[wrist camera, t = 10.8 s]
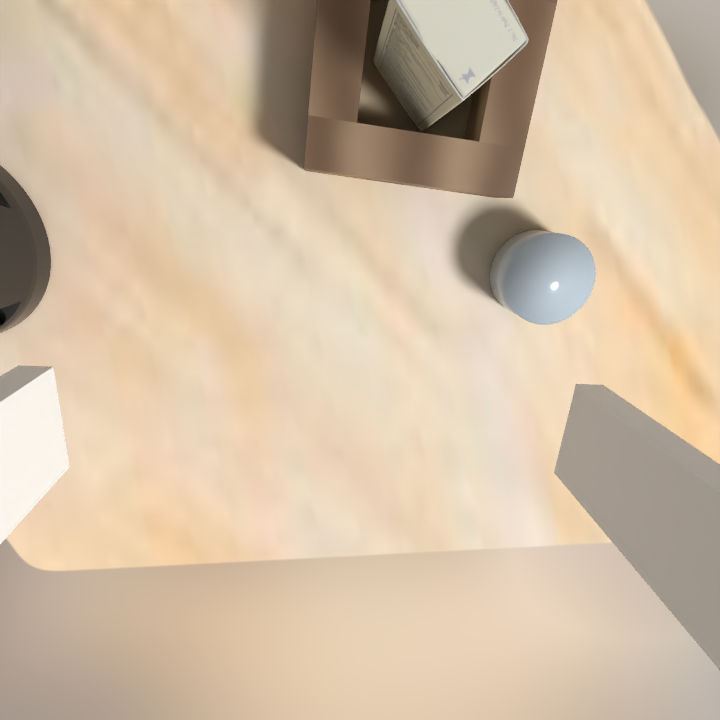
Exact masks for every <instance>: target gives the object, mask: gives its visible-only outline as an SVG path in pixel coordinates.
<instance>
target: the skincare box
mask: <svg viewBox="0 0 720 720" xmlns="http://www.w3.org/2000/svg"><path fill="white" fill-rule="evenodd" d="M528 40H529V39H528V37H527V34H526V33H525V31H524V29H523V27H522V25H521V23H520V21H519V19H518V17H517V15H516V14H515V12H514V10H513V8H512V6H511V5H510V3H509V1H508V0H389V2H388V6H387V10H386V13H385V17H384V20H383V24H382V28H381V32H380V36H379V39H378V43H377V47H376V51H375V54H374V58H373V62H374V64H375V65H376V67H377V68H378V70H379V72H380V73H381V75H382V76H383V78H384V79H385V81H386V82H387V84H388V85H389V87H390V88H391V90H392V91H393V93H394V94H395V96H396V97H397V98H398V100H399V101H400V103H401V104H402V106H403V107H404V109H405V110H406V112H407V113H408V114H409V116H410V117H411V119H412V120H413V121H414V123H415V124H416V126H417V127H418V128H419V130H420V131H424V130H425V129H426V128H428V127H429V126H430V125H432V124H433V123H434V122H436V121H437V120H438V119H440V118H441V117H442V116H444V115H445V114H446V113H448V112H449V111H450V110H452V109H453V108H454V107H456V106H457V105H458V104H460V103H461V102H462V101H464V100H465V99H466V98H467V97H468V96H470V95H471V94H472V93H473V92H474V91H476V90H477V89H478V88H479V87H480V86H482V85H483V84H484V83H485V82H486V81H487V80H489V79H490V78H491V77H492V76H493V75H494V74H495V73H496V72H498V71H499V70H500V69H501V68H502V67H503V66H504V65H505V64H506V63H508V62H509V61H510V60H511V59H512V58H513V57H514V56H515V55H516V54H517V53H518V52H519V51H520V50H521V49H522V48H524V47H525V46H526V44H527V43H528Z"/></svg>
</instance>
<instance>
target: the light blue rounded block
mask: <svg viewBox="0 0 720 720" xmlns="http://www.w3.org/2000/svg"><path fill="white" fill-rule="evenodd" d="M595 275H596V272H595V263H594V259H593V256H592V254H591V252H590V251H589V249H588V248H587V247H586V246H585V244H584V243H582V242H581V241H580V240H578V239H576V238H575V237H572V236H569V235H565V234H559V233H553V232H547V231H541V230H529V231H525V232H522V233H519V234H517V235H515V236H513V237H512V238H510V239H509V240H508V241H506V242H505V243H504V244H503V245H502V246H501V248H500V249H499V250H498V252H497V253H496V255H495V257H494V259H493V262H492V265H491V269H490V285H491V289H492V292H493V294H494V296H495V298H496V299H497V300H498V302H499V303H500V304H501V305H503V306H504V307H505V308H507V309H509V310H510V311H512V312H513V313H515V314H517V315H518V316H520V317H521V318H523V319H525V320H527V321H529V322H531V323H534V324H541V325H547V324H554V323H558V322H561V321H563V320H565V319H567V318H569V317H570V316H572V315H573V314H575V313H576V312H577V311H578V310H579V309H580V308H581V307H582V306H583V305H584V304H585V302H586V301H587V299H588V298H589V296H590V294H591V292H592V289H593V286H594V282H595Z"/></svg>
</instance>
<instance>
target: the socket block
mask: <svg viewBox="0 0 720 720" xmlns="http://www.w3.org/2000/svg"><path fill="white" fill-rule="evenodd" d="M508 1H509V3H510V5H511V6H512V8H513V10H514V12H515V14H516V15H517V17H518V19H519V21H520V23H521V25H522V27H523V29H524V31H525V33H526V34H527V37H528V39H529V40H528V43H527V44H526V46H525V47H524V48H522V49H521V50H520V51H519V52H518V53H517V54H516V55H515V56H514V57H513V58H512V59H511V60H510V61H509V62H508V63H506V64H505V65H504V66H503V67H502V68H501V69H500V70H499V71H498V72H496V73H495V74H494V75H493V76H492V77H491V78H490V79H489V80H487V81H486V82H485V83H484V84H483V85H482V86H480V87H479V88H478V89H477V90H476V91H474V92H473V95H472V101H471V106H470V111H469V117H468V122H467V128H466V133H465V139H459V138H452V137H446V136H439V135H433V134H426V133H420V132H413V131H407V130H401V129H394V128H388V127H381V126H375V125H368V124H362V123H357V117H358V108H359V100H360V91H361V82H362V73H363V64H364V56H365V47H366V38H367V29H368V20H369V12H370V3H371V0H317V13H316V25H315V37H314V49H313V61H312V73H311V85H310V98H309V110H308V122H307V134H306V146H305V158H304V169H305V170H306V171H310V172H318V173H325V174H332V175H339V176H346V177H353V178H360V179H367V180H374V181H381V182H388V183H395V184H402V185H409V186H416V187H423V188H431V189H438V190H445V191H452V192H459V193H466V194H473V195H480V196H487V197H495V198H513V196H514V192H515V187H516V183H517V178H518V174H519V170H520V165H521V161H522V156H523V152H524V147H525V143H526V138H527V134H528V129H529V125H530V120H531V116H532V112H533V107H534V103H535V98H536V94H537V89H538V85H539V80H540V76H541V71H542V67H543V62H544V58H545V54H546V49H547V45H548V40H549V36H550V31H551V27H552V22H553V18H554V13H555V9H556V4H557V0H508Z"/></svg>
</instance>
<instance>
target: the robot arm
mask: <svg viewBox="0 0 720 720" xmlns="http://www.w3.org/2000/svg"><path fill="white" fill-rule="evenodd" d="M50 268H51V256H50V247H49V241H48V237H47V234H46V230H45V227H44V225H43V222H42V220H41V217H40V215H39V213H38V211H37V209H36V207H35V206H34V204H33V202H32V201H31V199H30V198H29V196H28V195H27V193H26V192H25V191H24V190H23V188H22V187H21V186H20V185H19V183H18V182H17V181H16V180H15V179H14V178H13V177H12V176H11V175H10V174H9V173H8V172H7V171H6V170H5V169H4V168H3V167H2V166H0V333H1V332H3V331H6V330H8V329H10V328H12V327H14V326H16V325H17V324H19V323H20V322H22V321H23V320H24V319H26V318H27V317H28V316H29V315H30V314H31V313H32V312H33V311H34V309H35V308H36V307H37V306H38V304H39V302H40V301H41V299H42V297H43V295H44V293H45V291H46V288H47V285H48V281H49V276H50ZM69 467H70V466H69V460H68V454H67V448H66V442H65V436H64V430H63V424H62V418H61V411H60V405H59V399H58V393H57V387H56V381H55V375H54V369H53V367H44V366H17V367H15V368H14V369H12V370H10V371H9V372H7V373H5V374H3V375H2V376H0V544H1V543H2V541H3V540H5V538H6V537H7V536H8V535H9V534H10V533H11V532H12V531H13V530H14V528H15V527H16V526H17V525H18V524H19V523H20V522H21V521H22V519H23V518H24V517H25V516H26V515H27V514H28V513H29V512H30V511H31V509H32V508H33V507H34V506H35V505H36V504H37V503H38V502H39V500H40V499H41V498H42V497H43V496H44V495H45V494H46V493H47V492H48V490H49V489H50V488H51V487H52V486H53V485H54V484H55V483H56V481H57V480H58V479H59V478H60V477H61V476H62V475H63V474H64V473H65V471H66V470H67V469H68V468H69ZM554 473H555V474H556V475H557V477H558V478H559V479H560V480H561V481H562V482H563V484H564V485H565V486H566V487H567V488H568V490H569V491H570V492H571V493H572V494H573V496H574V497H575V498H576V499H577V500H578V502H579V503H580V504H581V505H582V506H583V508H584V509H585V510H586V511H587V512H588V513H589V515H590V516H591V517H592V518H593V519H594V521H595V522H596V523H597V524H598V525H599V527H600V528H601V529H602V530H603V531H604V533H605V534H606V535H607V536H608V537H609V539H610V540H611V541H612V542H613V543H614V544H615V546H616V547H617V548H618V549H619V550H620V552H621V553H622V554H623V555H624V556H625V558H626V559H627V560H628V561H629V562H630V563H631V565H632V566H633V567H634V568H635V570H636V571H637V572H638V573H639V574H640V575H641V577H642V578H643V579H644V580H645V581H646V582H647V584H648V585H649V586H650V587H651V588H652V590H653V591H654V592H655V593H656V594H657V596H658V597H659V598H660V599H661V601H662V602H663V603H664V604H665V605H666V606H667V608H668V609H669V610H670V611H671V612H672V614H673V615H674V616H675V617H676V618H677V619H678V621H679V622H680V623H681V624H682V625H683V627H684V628H685V629H686V630H687V632H688V633H689V634H690V635H691V636H692V637H693V639H694V640H695V641H696V642H697V643H698V644H699V646H700V647H701V648H702V649H703V651H704V652H705V653H706V654H707V655H708V656H709V658H710V659H711V660H712V661H713V663H714V664H715V665H716V666H717V667H718V668H719V670H720V464H718V463H717V462H715V461H714V460H712V459H711V458H709V457H708V456H706V455H705V454H704V453H702V452H701V451H699V450H698V449H696V448H695V447H693V446H692V445H690V444H689V443H687V442H686V441H684V440H683V439H682V438H680V437H679V436H677V435H676V434H674V433H673V432H671V431H670V430H668V429H667V428H665V427H664V426H662V425H661V424H660V423H658V422H657V421H655V420H654V419H652V418H651V417H649V416H648V415H646V414H645V413H643V412H642V411H640V410H639V409H638V408H636V407H635V406H633V405H632V404H630V403H629V402H627V401H626V400H624V399H623V398H621V397H620V396H618V395H617V394H616V393H614V392H613V391H611V390H610V389H608V388H607V387H605V386H604V385H588V384H576V386H575V391H574V395H573V399H572V403H571V407H570V411H569V415H568V419H567V423H566V427H565V431H564V435H563V439H562V443H561V447H560V451H559V455H558V459H557V463H556V467H555V471H554Z"/></svg>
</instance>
